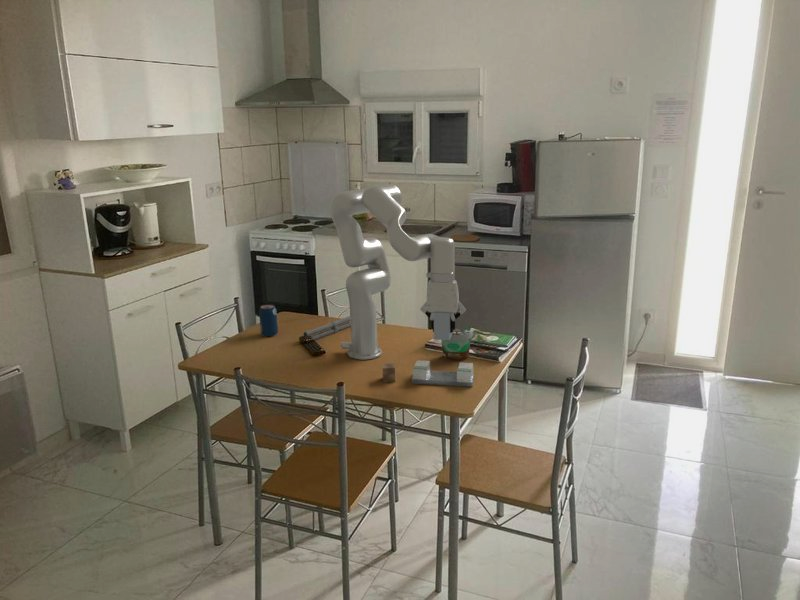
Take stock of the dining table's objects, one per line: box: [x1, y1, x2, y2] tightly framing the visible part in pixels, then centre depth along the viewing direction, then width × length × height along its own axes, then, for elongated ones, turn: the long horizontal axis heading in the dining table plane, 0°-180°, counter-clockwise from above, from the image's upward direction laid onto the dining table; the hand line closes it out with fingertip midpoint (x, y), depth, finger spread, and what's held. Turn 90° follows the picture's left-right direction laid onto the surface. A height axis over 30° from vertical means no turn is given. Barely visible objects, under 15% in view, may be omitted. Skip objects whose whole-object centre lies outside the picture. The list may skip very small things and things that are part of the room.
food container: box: [440, 329, 474, 362], centre depth 234 cm, size 12×6×10 cm, turn 88°
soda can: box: [258, 304, 279, 337], centre depth 264 cm, size 7×7×12 cm
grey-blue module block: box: [433, 312, 452, 341], centre depth 212 cm, size 5×7×9 cm
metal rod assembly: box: [303, 316, 351, 341], centre depth 264 cm, size 26×3×5 cm, turn 141°
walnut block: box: [382, 363, 396, 383], centre depth 218 cm, size 4×4×5 cm
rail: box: [410, 360, 476, 388], centre depth 216 cm, size 20×8×5 cm, turn 79°
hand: (443, 330), depth 212 cm, fingers closed on grey-blue module block, 5 cm apart
